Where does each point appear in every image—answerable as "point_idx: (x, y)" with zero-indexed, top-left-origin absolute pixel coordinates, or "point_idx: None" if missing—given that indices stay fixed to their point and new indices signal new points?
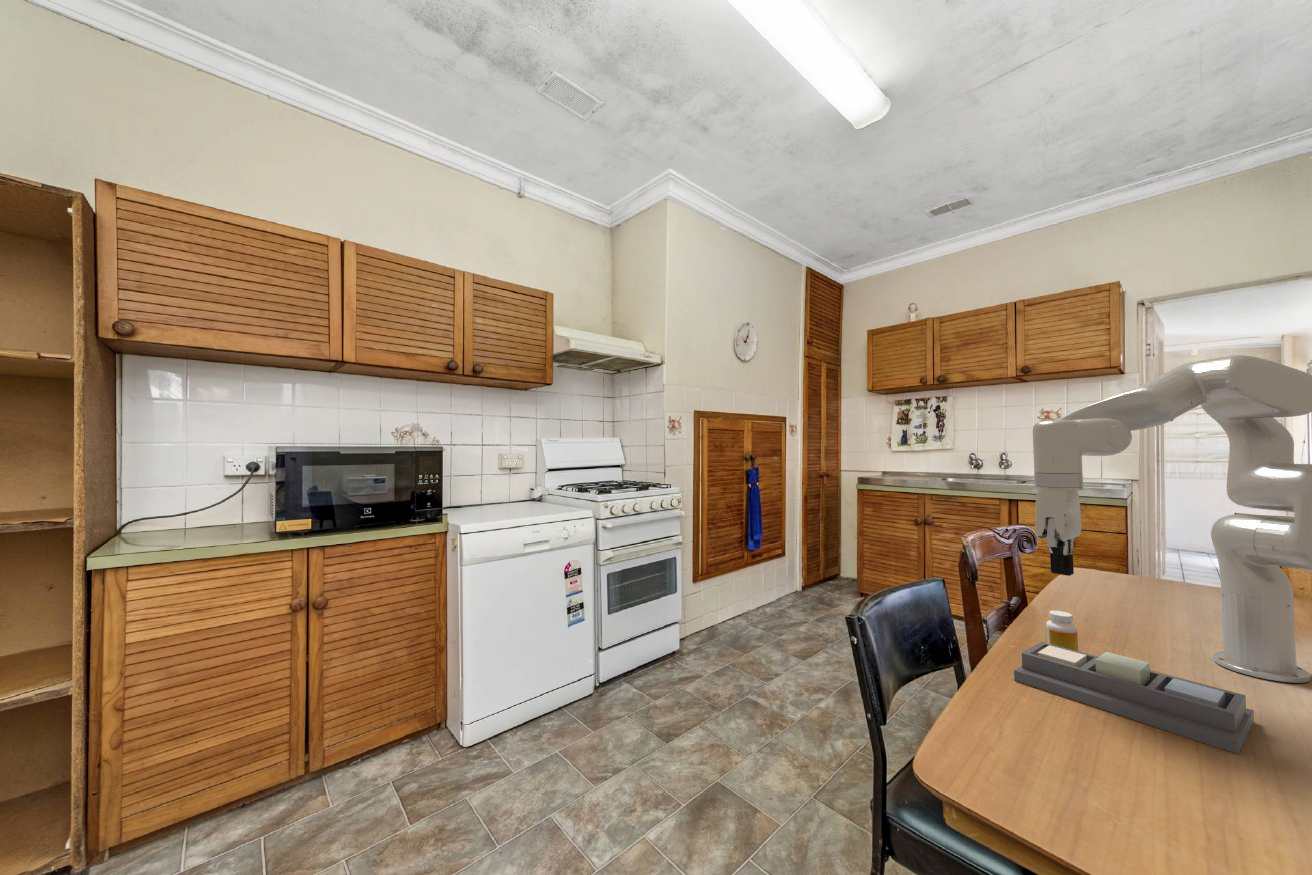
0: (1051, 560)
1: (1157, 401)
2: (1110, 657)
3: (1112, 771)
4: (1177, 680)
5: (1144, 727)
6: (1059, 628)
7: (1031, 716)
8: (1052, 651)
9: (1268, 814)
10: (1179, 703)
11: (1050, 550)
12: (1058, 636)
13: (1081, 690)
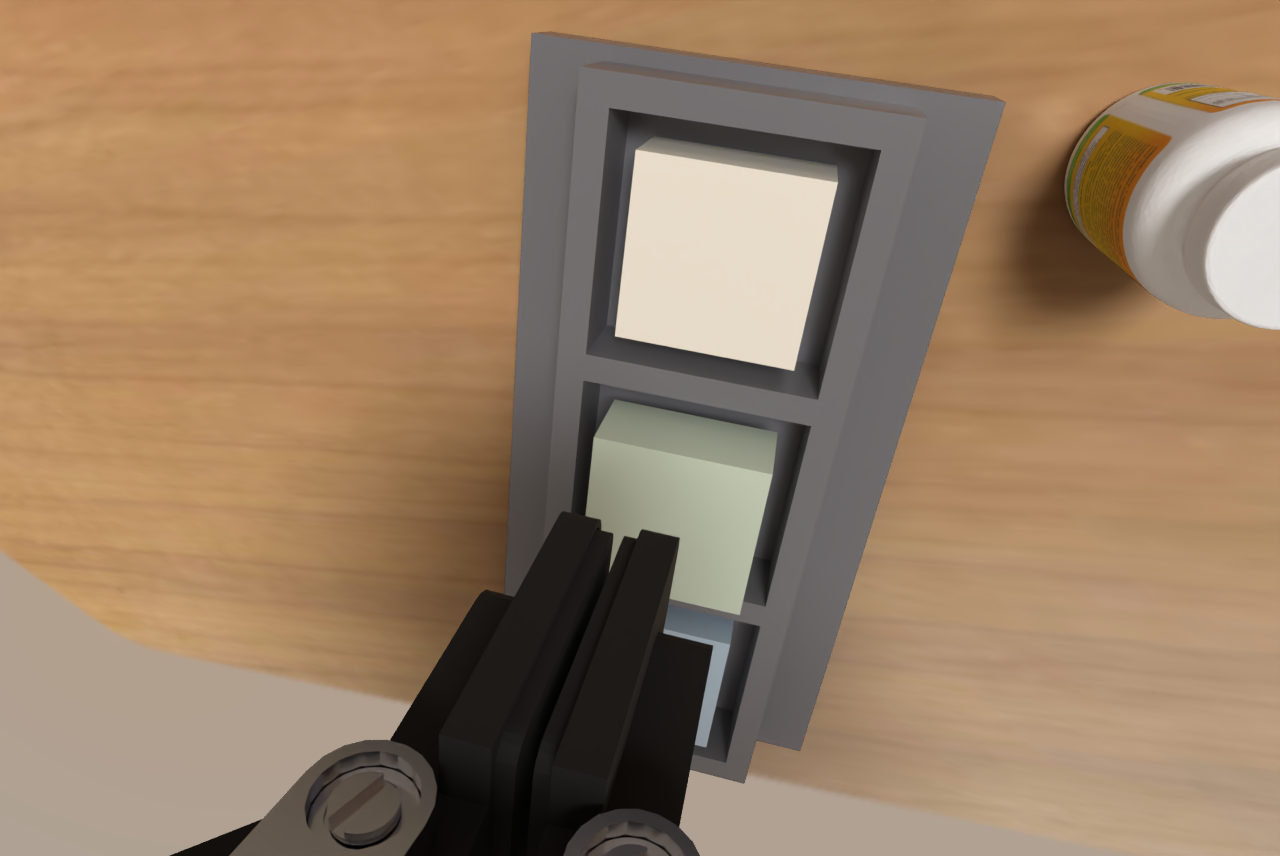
0: (496, 638)
1: None
2: (685, 490)
3: (134, 413)
4: (713, 652)
5: (491, 483)
6: (1134, 221)
7: (244, 184)
8: (720, 217)
9: (258, 640)
10: None
11: (292, 801)
12: (1113, 198)
13: (528, 333)
